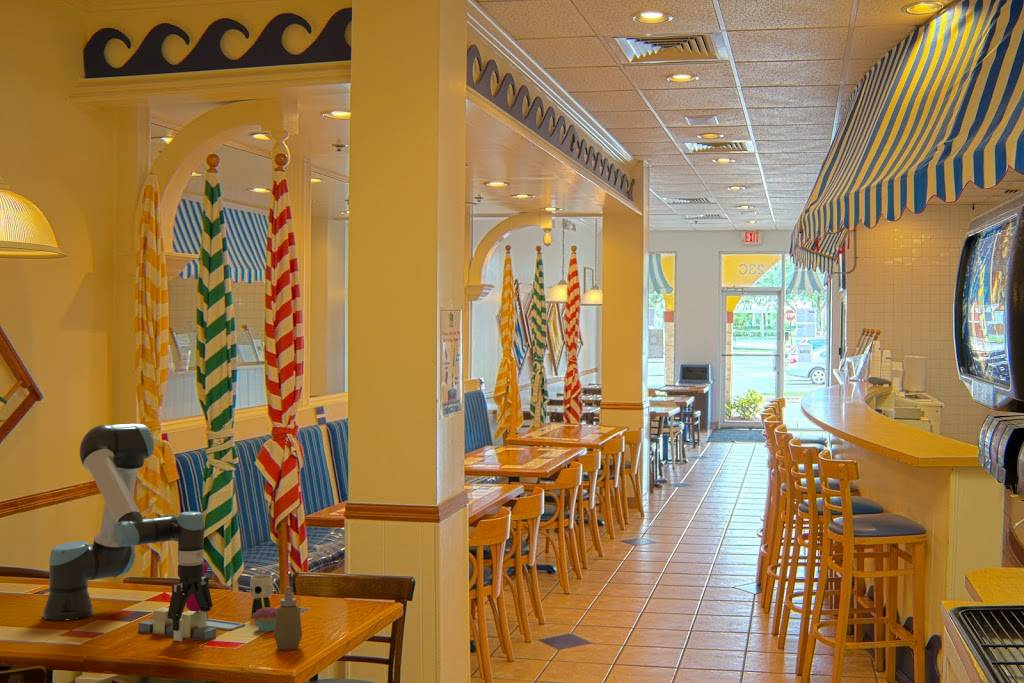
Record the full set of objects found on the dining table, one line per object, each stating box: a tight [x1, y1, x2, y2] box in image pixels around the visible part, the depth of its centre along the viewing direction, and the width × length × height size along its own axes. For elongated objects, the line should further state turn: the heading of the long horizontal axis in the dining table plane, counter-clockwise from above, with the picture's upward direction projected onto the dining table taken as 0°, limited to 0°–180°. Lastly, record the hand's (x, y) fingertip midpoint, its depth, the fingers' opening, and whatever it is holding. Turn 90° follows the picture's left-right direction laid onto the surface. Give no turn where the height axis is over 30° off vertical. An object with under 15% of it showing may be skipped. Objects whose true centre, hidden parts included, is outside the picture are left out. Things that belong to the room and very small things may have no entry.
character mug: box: [249, 574, 274, 617], centre depth 350 cm, size 11×7×13 cm, turn 53°
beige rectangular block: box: [180, 610, 201, 640], centre depth 323 cm, size 4×4×7 cm
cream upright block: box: [152, 606, 173, 636], centre depth 327 cm, size 4×4×7 cm
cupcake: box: [252, 593, 277, 632], centre depth 332 cm, size 9×8×12 cm
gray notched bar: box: [137, 618, 217, 642], centre depth 325 cm, size 26×5×3 cm, turn 66°
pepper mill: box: [185, 560, 208, 612], centre depth 348 cm, size 7×7×20 cm
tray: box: [207, 618, 246, 632], centre depth 337 cm, size 18×7×1 cm, turn 66°
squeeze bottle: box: [273, 585, 303, 651], centre depth 312 cm, size 8×8×18 cm
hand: (190, 636), depth 323 cm, fingers open, 10 cm apart
